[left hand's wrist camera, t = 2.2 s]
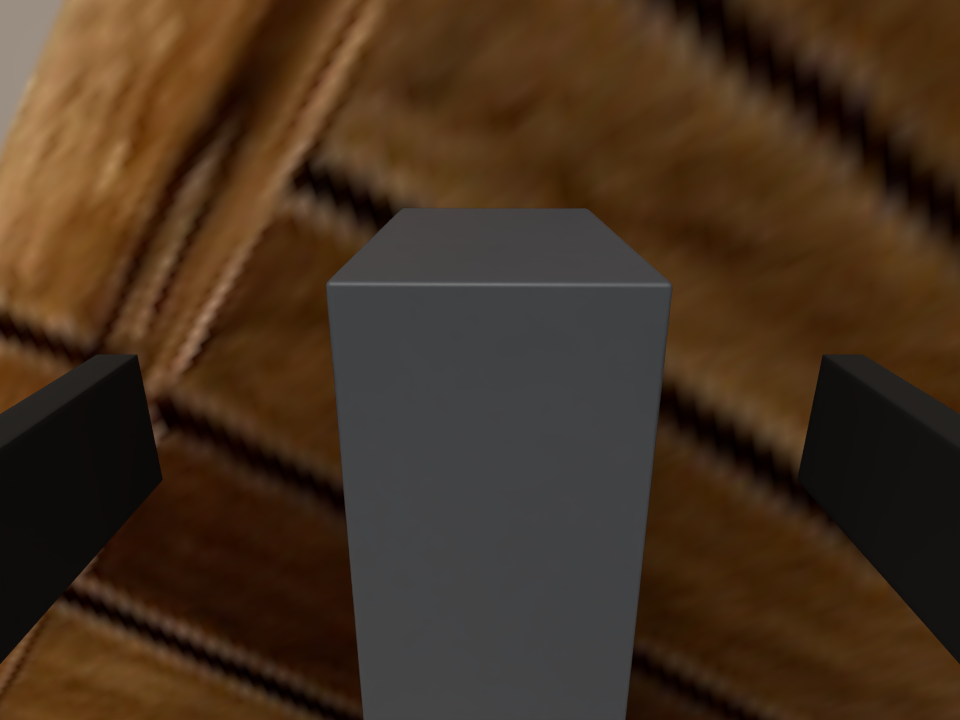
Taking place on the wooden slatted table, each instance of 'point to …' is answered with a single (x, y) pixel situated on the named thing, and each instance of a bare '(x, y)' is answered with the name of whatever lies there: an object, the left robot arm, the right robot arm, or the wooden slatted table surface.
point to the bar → (496, 460)
